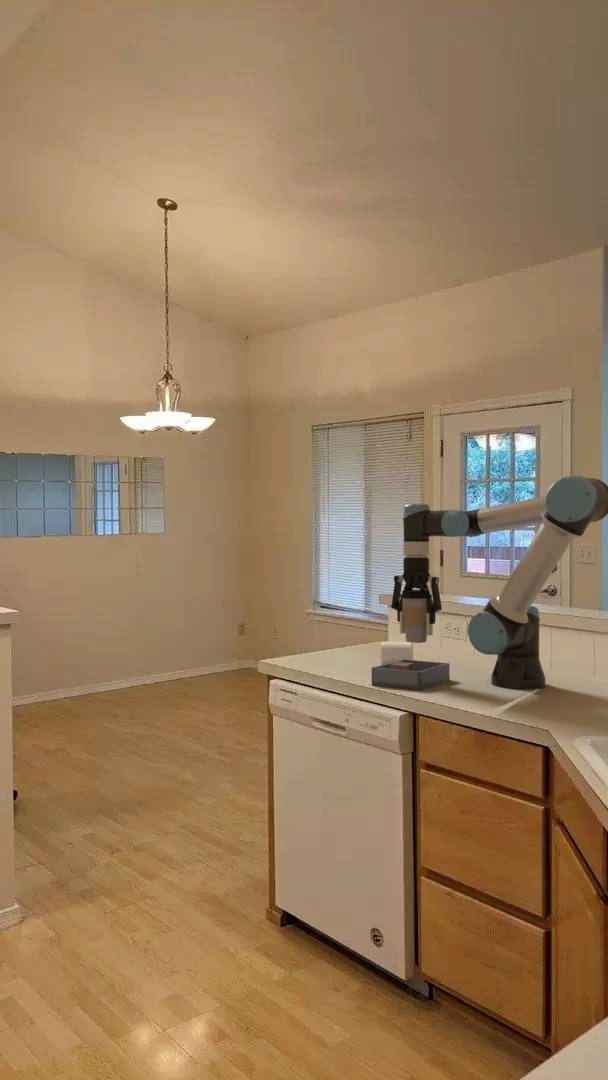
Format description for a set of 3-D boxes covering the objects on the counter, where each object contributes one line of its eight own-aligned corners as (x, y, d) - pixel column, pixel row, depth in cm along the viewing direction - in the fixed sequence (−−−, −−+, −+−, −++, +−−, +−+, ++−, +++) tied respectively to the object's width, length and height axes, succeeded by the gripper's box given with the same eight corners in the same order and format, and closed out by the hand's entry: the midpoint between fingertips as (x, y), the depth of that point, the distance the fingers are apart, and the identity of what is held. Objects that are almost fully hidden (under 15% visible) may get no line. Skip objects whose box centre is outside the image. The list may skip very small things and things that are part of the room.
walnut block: (406, 683, 240) (406, 665, 240) (390, 681, 242) (390, 664, 242) (414, 680, 244) (414, 663, 244) (398, 679, 246) (398, 662, 246)
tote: (449, 680, 252) (449, 663, 252) (419, 690, 235) (419, 672, 235) (403, 675, 260) (403, 659, 260) (371, 685, 244) (371, 667, 244)
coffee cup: (432, 643, 245) (432, 591, 245) (399, 643, 247) (399, 591, 247) (432, 639, 255) (432, 589, 255) (400, 639, 256) (400, 589, 256)
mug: (411, 668, 274) (411, 644, 274) (380, 667, 276) (380, 643, 276) (414, 663, 286) (414, 639, 286) (384, 662, 288) (384, 638, 288)
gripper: (454, 556, 248) (454, 635, 248) (391, 555, 259) (390, 630, 260) (443, 557, 242) (443, 637, 242) (379, 556, 253) (378, 633, 253)
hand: (416, 634), depth 251 cm, fingers closed on coffee cup, 8 cm apart
